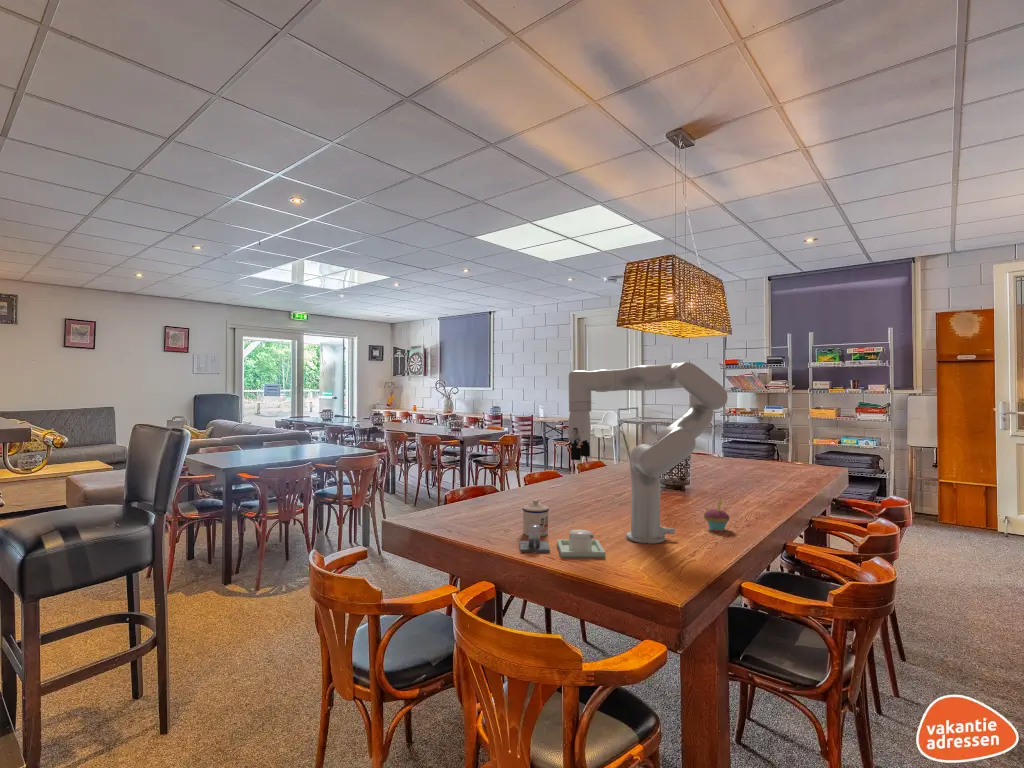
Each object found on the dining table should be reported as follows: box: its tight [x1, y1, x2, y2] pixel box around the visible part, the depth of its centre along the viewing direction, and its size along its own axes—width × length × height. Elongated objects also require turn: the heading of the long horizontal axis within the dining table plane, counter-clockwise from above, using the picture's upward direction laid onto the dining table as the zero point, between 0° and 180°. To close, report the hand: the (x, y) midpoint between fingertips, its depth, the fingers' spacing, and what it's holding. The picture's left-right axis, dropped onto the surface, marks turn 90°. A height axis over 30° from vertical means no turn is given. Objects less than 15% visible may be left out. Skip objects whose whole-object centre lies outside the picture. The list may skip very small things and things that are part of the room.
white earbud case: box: [568, 529, 595, 551], centre depth 158 cm, size 7×8×5 cm
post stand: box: [519, 524, 551, 554], centre depth 161 cm, size 9×9×7 cm
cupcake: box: [703, 497, 730, 532], centre depth 185 cm, size 9×8×12 cm
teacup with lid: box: [522, 499, 550, 537], centre depth 179 cm, size 12×9×12 cm
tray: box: [556, 538, 606, 559], centre depth 158 cm, size 13×13×2 cm
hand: (580, 458), depth 172 cm, fingers open, 9 cm apart
